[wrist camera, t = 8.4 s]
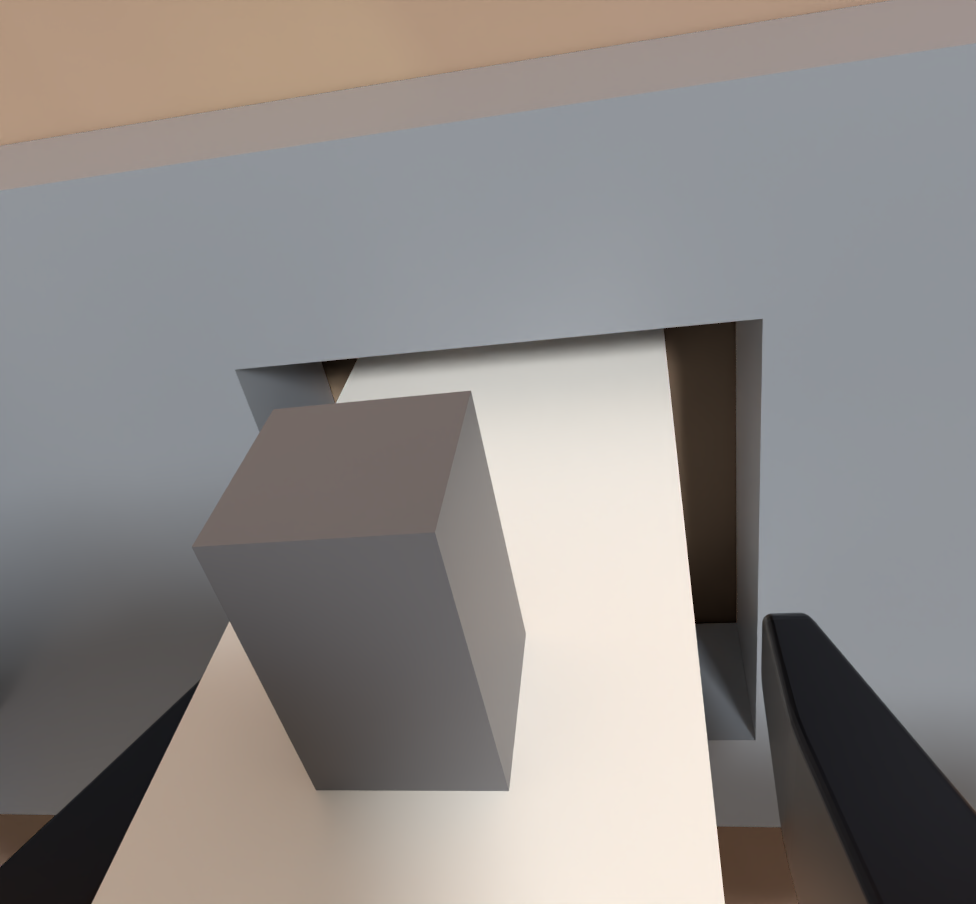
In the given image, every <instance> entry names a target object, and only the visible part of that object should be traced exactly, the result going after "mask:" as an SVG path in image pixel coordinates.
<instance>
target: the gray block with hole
mask: <svg viewBox="0 0 976 904" xmlns="http://www.w3.org/2000/svg"><path fill="white" fill-rule="evenodd" d="M733 321H736V561H737V623H708V624H695V628H696V638H697V647H698V657H699V666H700V675H701V685H702V694H703V704H704V713H705V722H706V732H707V741H708V751H709V760H710V769H711V779H712V788H713V797H714V807H715V816H716V826H729V827H781V824H780V818H779V810H778V803H777V795H776V788H775V780H774V773H773V765H772V758H771V751H770V743H769V736H768V728H767V721H766V713H765V706H764V698H763V690H762V679H761V653H762V621H763V618H764V617H765V616H766V615H768V614H770V613H805V614H807V615H809V616H810V617H811V618H812V619H813V620H814V621H815V622H816V623H817V624H818V626H819V627H820V628H821V629H822V630H823V631H824V633H825V634H826V635H827V636H828V637H829V639H830V640H831V641H832V642H833V643H834V644H835V646H836V647H837V648H838V649H839V650H840V652H841V653H842V654H843V655H844V656H845V657H846V659H847V660H848V661H849V662H850V663H851V665H852V666H853V667H854V668H855V669H856V670H857V672H858V673H859V674H860V675H861V676H862V678H863V679H864V680H865V681H866V682H867V683H868V685H869V686H870V687H871V688H872V689H873V690H874V692H875V693H876V694H877V695H878V696H879V698H880V699H881V700H882V701H883V702H884V703H885V705H886V706H887V707H888V708H889V709H890V711H891V712H892V713H893V714H894V715H895V716H896V718H897V719H898V720H899V721H900V722H901V724H902V725H903V726H904V727H905V728H906V729H907V731H908V732H909V733H910V734H911V735H912V737H913V738H914V739H915V740H916V741H917V742H918V744H919V745H920V746H921V747H922V748H923V749H924V751H925V752H926V753H927V754H928V755H929V757H930V758H931V759H932V760H933V761H934V762H935V764H936V765H937V766H938V767H939V768H940V770H941V771H942V772H943V773H944V774H945V775H946V777H947V778H948V779H949V780H950V781H951V783H952V784H953V785H954V786H955V787H956V788H957V790H958V791H959V792H960V793H961V794H962V795H963V797H964V798H965V799H966V800H967V801H968V803H969V804H970V805H971V806H972V807H973V808H974V810H975V811H976V0H890V1H884V2H878V3H872V4H866V5H860V6H854V7H847V8H841V9H835V10H829V11H823V12H817V13H811V14H805V15H798V16H792V17H786V18H780V19H774V20H768V21H762V22H756V23H749V24H743V25H737V26H731V27H725V28H719V29H713V30H707V31H700V32H694V33H688V34H682V35H676V36H670V37H664V38H658V39H651V40H645V41H639V42H633V43H627V44H621V45H615V46H609V47H602V48H596V49H590V50H584V51H578V52H572V53H566V54H560V55H553V56H547V57H541V58H535V59H529V60H523V61H517V62H511V63H504V64H498V65H492V66H486V67H480V68H474V69H468V70H462V71H455V72H449V73H443V74H437V75H431V76H425V77H419V78H413V79H406V80H400V81H394V82H388V83H382V84H376V85H370V86H364V87H357V88H351V89H345V90H339V91H333V92H327V93H321V94H315V95H308V96H302V97H296V98H290V99H284V100H278V101H272V102H266V103H259V104H253V105H247V106H241V107H235V108H229V109H223V110H217V111H211V112H204V113H198V114H192V115H186V116H180V117H174V118H168V119H162V120H155V121H149V122H143V123H137V124H131V125H125V126H119V127H113V128H106V129H100V130H94V131H88V132H82V133H76V134H70V135H64V136H57V137H51V138H45V139H39V140H33V141H27V142H21V143H15V144H8V145H2V146H0V814H25V815H56V814H57V813H58V812H59V811H61V810H62V809H63V808H64V807H65V806H66V805H67V804H68V803H69V802H70V801H71V800H72V799H73V798H74V797H75V796H77V795H78V794H79V793H80V792H81V791H82V790H83V789H84V788H85V787H86V786H87V785H88V784H89V783H90V782H91V781H92V780H94V779H95V778H96V777H97V776H98V775H99V774H100V773H101V772H102V771H103V770H104V769H105V768H106V767H107V766H108V765H109V764H111V763H112V762H113V761H114V760H115V759H116V758H117V757H118V756H119V755H120V754H121V753H122V752H123V751H124V750H125V749H126V748H128V747H129V746H130V745H131V744H132V743H133V742H134V741H135V740H136V739H137V738H138V737H139V736H140V735H141V734H142V733H144V732H145V731H146V730H147V729H148V728H149V727H150V726H151V725H152V724H153V723H154V722H155V721H156V720H157V719H158V718H159V717H161V716H162V715H163V714H164V713H165V712H166V711H167V710H168V709H169V708H170V707H171V706H172V705H173V704H174V703H175V702H176V701H178V700H179V699H180V698H181V697H182V696H183V695H184V694H185V693H186V692H187V691H188V690H189V689H190V688H191V687H192V686H193V685H195V684H196V683H197V682H198V681H199V680H200V679H201V678H202V677H203V675H204V672H205V670H206V668H207V666H208V664H209V662H210V660H211V658H212V656H213V654H214V652H215V650H216V648H217V646H218V644H219V642H220V640H221V638H222V636H223V634H224V632H225V629H226V627H227V625H228V623H229V619H228V617H227V615H226V613H225V611H224V610H223V608H222V606H221V604H220V602H219V600H218V598H217V596H216V594H215V592H214V590H213V588H212V586H211V584H210V582H209V580H208V578H207V576H206V574H205V572H204V570H203V568H202V566H201V565H200V563H199V561H198V559H197V557H196V555H195V553H194V551H193V549H192V546H193V544H194V542H195V540H196V539H197V537H198V535H199V534H200V532H201V530H202V529H203V527H204V525H205V524H206V522H207V520H208V519H209V517H210V515H211V513H212V512H213V510H214V508H215V507H216V505H217V503H218V502H219V500H220V498H221V497H222V495H223V493H224V492H225V490H226V488H227V487H228V485H229V483H230V481H231V480H232V478H233V476H234V475H235V473H236V471H237V470H238V468H239V466H240V465H241V463H242V461H243V460H244V458H245V456H246V454H247V453H248V451H249V449H250V448H251V446H252V444H253V443H254V441H255V439H256V438H257V436H258V434H259V433H260V431H261V429H262V427H263V426H264V424H265V422H266V421H267V419H268V417H269V416H270V414H271V412H272V411H273V409H282V408H292V407H303V406H313V405H324V404H334V403H335V402H334V399H333V396H332V393H331V390H330V387H329V383H328V380H327V377H326V374H325V371H324V368H323V365H322V362H321V361H330V360H340V359H351V358H361V357H371V356H382V355H392V354H402V353H413V352H423V351H433V350H444V349H454V348H464V347H475V346H485V345H495V344H506V343H516V342H526V341H537V340H547V339H558V338H568V337H578V336H589V335H599V334H609V333H620V332H630V331H640V330H651V329H661V328H671V327H682V326H692V325H702V324H713V323H723V322H733Z"/></svg>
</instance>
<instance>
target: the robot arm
mask: <svg viewBox="0 0 976 904" xmlns="http://www.w3.org/2000/svg"><path fill="white" fill-rule="evenodd" d="M201 679H202V678H201ZM201 679H200V680H199V681H198V682H197V683H196V684H195V685H193V686H192V687H191V688H190V689H189V690H188V691H187V692H186V693H185V694H184V695H183V696H182V697H181V698H180V699H179V700H178V701H176V702H175V703H174V704H173V705H172V706H171V707H170V708H169V709H168V710H167V711H166V712H165V713H164V714H163V715H162V716H161V717H159V718H158V719H157V720H156V721H155V722H154V723H153V724H152V725H151V726H150V727H149V728H148V729H147V730H146V731H145V732H144V733H142V734H141V735H140V736H139V737H138V738H137V739H136V740H135V741H134V742H133V743H132V744H131V745H130V746H129V747H128V748H126V749H125V750H124V751H123V752H122V753H121V754H120V755H119V756H118V757H117V758H116V759H115V760H114V761H113V762H112V763H111V764H109V765H108V766H107V767H106V768H105V769H104V770H103V771H102V772H101V773H100V774H99V775H98V776H97V777H96V778H95V779H94V780H92V781H91V782H90V783H89V784H88V785H87V786H86V787H85V788H84V789H83V790H82V791H81V792H80V793H79V794H78V795H77V796H75V797H74V798H73V799H72V800H71V801H70V802H69V803H68V804H67V805H66V806H65V807H64V808H63V809H62V810H61V811H59V812H58V813H57V814H56V815H55V816H54V817H53V818H52V819H51V820H50V821H49V822H48V823H47V824H46V825H45V826H44V827H42V828H41V829H40V830H39V831H38V832H37V833H36V834H35V835H34V836H33V837H32V838H31V839H30V840H29V841H28V842H27V843H25V844H24V845H23V846H22V847H21V848H20V849H19V850H18V851H17V852H16V853H15V854H14V855H13V856H12V857H11V858H9V859H8V860H7V861H6V862H5V863H4V864H3V865H2V866H1V867H0V904H92V902H93V900H94V898H95V896H96V894H97V892H98V890H99V887H100V885H101V883H102V881H103V879H104V877H105V875H106V873H107V871H108V869H109V867H110V865H111V863H112V861H113V859H114V857H115V855H116V853H117V851H118V849H119V847H120V844H121V842H122V840H123V838H124V836H125V834H126V832H127V830H128V828H129V826H130V824H131V822H132V820H133V818H134V816H135V814H136V812H137V810H138V808H139V806H140V804H141V801H142V799H143V797H144V795H145V793H146V791H147V789H148V787H149V785H150V783H151V781H152V779H153V777H154V775H155V773H156V771H157V769H158V767H159V765H160V763H161V761H162V758H163V756H164V754H165V752H166V750H167V748H168V746H169V744H170V742H171V740H172V738H173V736H174V734H175V732H176V730H177V728H178V726H179V724H180V722H181V720H182V718H183V715H184V713H185V711H186V709H187V707H188V705H189V703H190V701H191V699H192V697H193V695H194V693H195V691H196V689H197V687H198V685H199V683H200V681H201ZM761 679H762V690H763V698H764V706H765V713H766V721H767V728H768V736H769V743H770V751H771V758H772V765H773V773H774V780H775V788H776V795H777V803H778V810H779V818H780V824H781V830H782V836H783V842H784V846H785V851H786V855H787V860H788V864H789V868H790V872H791V876H792V880H793V884H794V888H795V892H796V896H797V900H798V904H976V811H975V810H974V808H973V807H972V806H971V805H970V804H969V803H968V801H967V800H966V799H965V798H964V797H963V795H962V794H961V793H960V792H959V791H958V790H957V788H956V787H955V786H954V785H953V784H952V783H951V781H950V780H949V779H948V778H947V777H946V775H945V774H944V773H943V772H942V771H941V770H940V768H939V767H938V766H937V765H936V764H935V762H934V761H933V760H932V759H931V758H930V757H929V755H928V754H927V753H926V752H925V751H924V749H923V748H922V747H921V746H920V745H919V744H918V742H917V741H916V740H915V739H914V738H913V737H912V735H911V734H910V733H909V732H908V731H907V729H906V728H905V727H904V726H903V725H902V724H901V722H900V721H899V720H898V719H897V718H896V716H895V715H894V714H893V713H892V712H891V711H890V709H889V708H888V707H887V706H886V705H885V703H884V702H883V701H882V700H881V699H880V698H879V696H878V695H877V694H876V693H875V692H874V690H873V689H872V688H871V687H870V686H869V685H868V683H867V682H866V681H865V680H864V679H863V678H862V676H861V675H860V674H859V673H858V672H857V670H856V669H855V668H854V667H853V666H852V665H851V663H850V662H849V661H848V660H847V659H846V657H845V656H844V655H843V654H842V653H841V652H840V650H839V649H838V648H837V647H836V646H835V644H834V643H833V642H832V641H831V640H830V639H829V637H828V636H827V635H826V634H825V633H824V631H823V630H822V629H821V628H820V627H819V626H818V624H817V623H816V622H815V621H814V620H813V619H812V618H811V617H810V616H809V615H807V614H805V613H770V614H768V615H766V616H765V617H764V618H763V621H762V653H761Z"/></svg>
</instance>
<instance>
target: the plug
mask: <svg viewBox="0 0 976 904" xmlns="http://www.w3.org/2000/svg"><path fill="white" fill-rule="evenodd" d="M192 549H193V551H194V553H195V555H196V557H197V559H198V561H199V563H200V565H201V566H202V568H203V570H204V572H205V574H206V576H207V578H208V580H209V582H210V584H211V586H212V588H213V590H214V592H215V594H216V596H217V598H218V600H219V602H220V604H221V606H222V608H223V610H224V611H225V613H226V615H227V617H228V619H229V623H228V625H227V627H226V629H225V632H224V634H223V636H222V638H221V640H220V642H219V644H218V646H217V648H216V650H215V652H214V654H213V656H212V658H211V660H210V662H209V664H208V666H207V668H206V670H205V672H204V675H203V677H202V679H201V681H200V683H199V685H198V687H197V689H196V691H195V693H194V695H193V697H192V699H191V701H190V703H189V705H188V707H187V709H186V711H185V713H184V715H183V718H182V720H181V722H180V724H179V726H178V728H177V730H176V732H175V734H174V736H173V738H172V740H171V742H170V744H169V746H168V748H167V750H166V752H165V754H164V756H163V758H162V761H161V763H160V765H159V767H158V769H157V771H156V773H155V775H154V777H153V779H152V781H151V783H150V785H149V787H148V789H147V791H146V793H145V795H144V797H143V799H142V801H141V804H140V806H139V808H138V810H137V812H136V814H135V816H134V818H133V820H132V822H131V824H130V826H129V828H128V830H127V832H126V834H125V836H124V838H123V840H122V842H121V844H120V847H119V849H118V851H117V853H116V855H115V857H114V859H113V861H112V863H111V865H110V867H109V869H108V871H107V873H106V875H105V877H104V879H103V881H102V883H101V885H100V887H99V890H98V892H97V894H96V896H95V898H94V900H93V902H92V904H725V901H724V891H723V882H722V873H721V863H720V854H719V844H718V835H717V826H716V816H715V807H714V797H713V788H712V779H711V769H710V760H709V751H708V741H707V732H706V722H705V713H704V704H703V694H702V685H701V675H700V666H699V657H698V647H697V638H696V628H695V619H694V610H693V600H692V591H691V582H690V572H689V563H688V553H687V544H686V535H685V525H684V516H683V506H682V497H681V488H680V478H679V469H678V459H677V450H676V441H675V431H674V422H673V413H672V403H671V394H670V384H669V375H668V366H667V356H666V347H665V337H664V328H661V329H651V330H640V331H630V332H620V333H609V334H599V335H589V336H578V337H568V338H558V339H547V340H537V341H526V342H516V343H506V344H495V345H485V346H475V347H464V348H454V349H444V350H433V351H423V352H413V353H402V354H392V355H382V356H371V357H361V358H358V359H357V361H356V363H355V365H354V367H353V369H352V371H351V373H350V376H349V378H348V380H347V382H346V384H345V386H344V388H343V390H342V392H341V394H340V396H339V398H338V400H337V402H336V403H334V404H324V405H313V406H303V407H292V408H282V409H273V411H272V412H271V414H270V416H269V417H268V419H267V421H266V422H265V424H264V426H263V427H262V429H261V431H260V433H259V434H258V436H257V438H256V439H255V441H254V443H253V444H252V446H251V448H250V449H249V451H248V453H247V454H246V456H245V458H244V460H243V461H242V463H241V465H240V466H239V468H238V470H237V471H236V473H235V475H234V476H233V478H232V480H231V481H230V483H229V485H228V487H227V488H226V490H225V492H224V493H223V495H222V497H221V498H220V500H219V502H218V503H217V505H216V507H215V508H214V510H213V512H212V513H211V515H210V517H209V519H208V520H207V522H206V524H205V525H204V527H203V529H202V530H201V532H200V534H199V535H198V537H197V539H196V540H195V542H194V544H193V546H192Z"/></svg>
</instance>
